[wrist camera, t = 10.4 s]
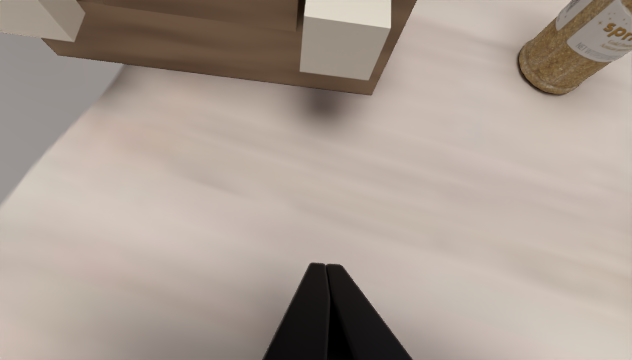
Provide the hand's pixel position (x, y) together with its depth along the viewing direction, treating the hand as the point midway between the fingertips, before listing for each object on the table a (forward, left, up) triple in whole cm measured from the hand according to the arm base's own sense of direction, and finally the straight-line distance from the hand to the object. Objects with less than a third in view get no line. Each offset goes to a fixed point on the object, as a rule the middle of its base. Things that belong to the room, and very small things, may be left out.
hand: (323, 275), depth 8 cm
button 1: (+14, 0, -4) cm, 14 cm away
